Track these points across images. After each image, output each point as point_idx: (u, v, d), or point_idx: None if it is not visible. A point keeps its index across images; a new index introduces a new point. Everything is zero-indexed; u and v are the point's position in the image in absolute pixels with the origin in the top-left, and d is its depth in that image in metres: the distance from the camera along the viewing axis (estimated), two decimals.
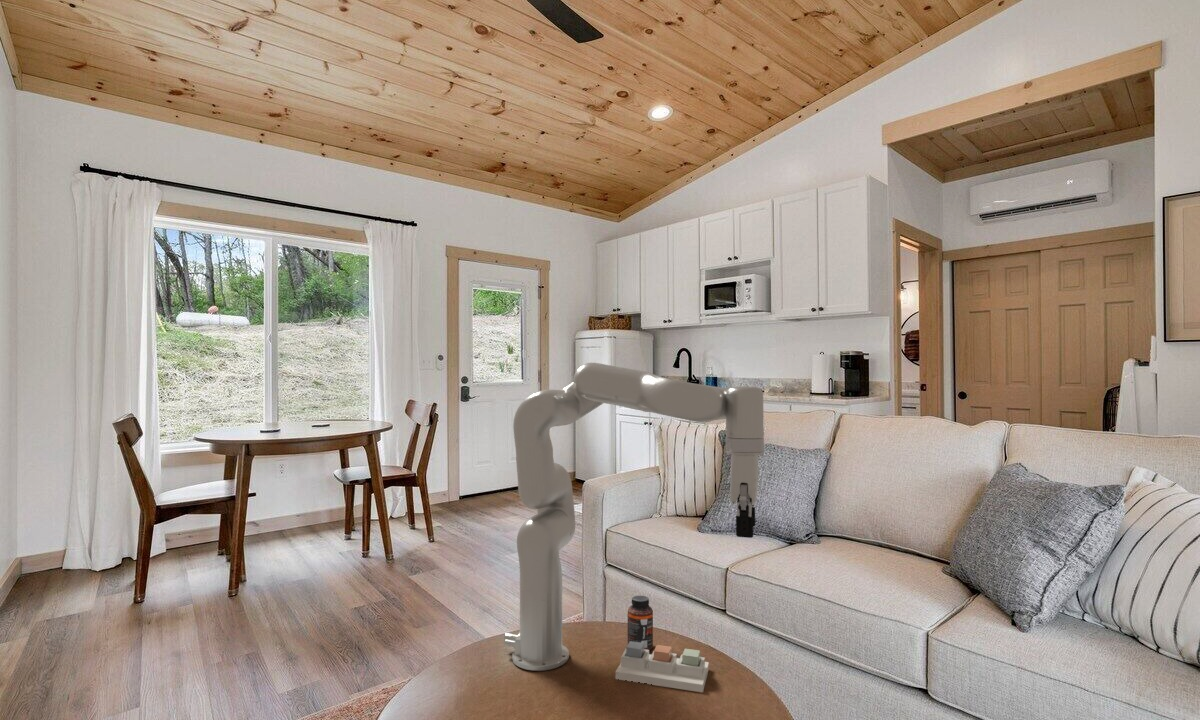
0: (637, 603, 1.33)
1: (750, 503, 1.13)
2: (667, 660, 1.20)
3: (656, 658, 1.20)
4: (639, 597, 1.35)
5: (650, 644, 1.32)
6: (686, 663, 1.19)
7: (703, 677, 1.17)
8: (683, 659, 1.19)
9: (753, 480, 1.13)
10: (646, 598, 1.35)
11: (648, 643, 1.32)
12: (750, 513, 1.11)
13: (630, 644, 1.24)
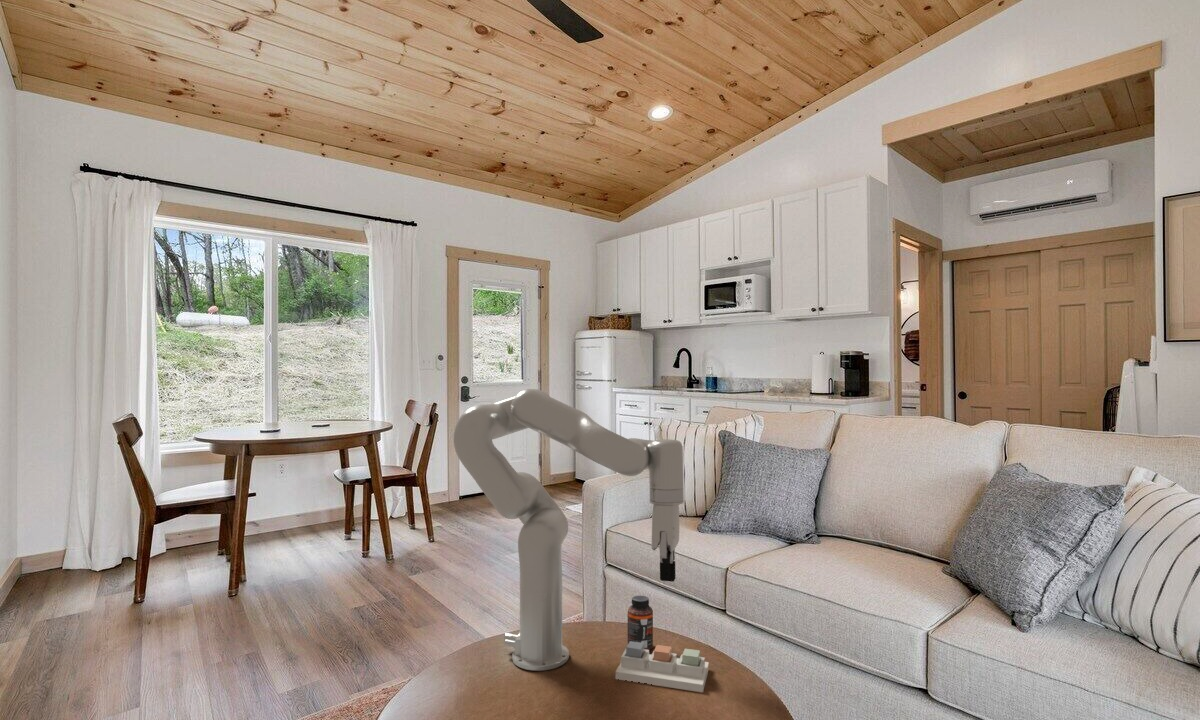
0: (637, 603, 1.33)
1: (671, 552, 1.25)
2: (667, 660, 1.20)
3: (656, 658, 1.20)
4: (639, 597, 1.35)
5: (650, 644, 1.32)
6: (686, 663, 1.19)
7: (703, 677, 1.17)
8: (683, 659, 1.19)
9: (671, 529, 1.23)
10: (646, 598, 1.35)
11: (648, 643, 1.32)
12: (671, 562, 1.25)
13: (630, 644, 1.24)
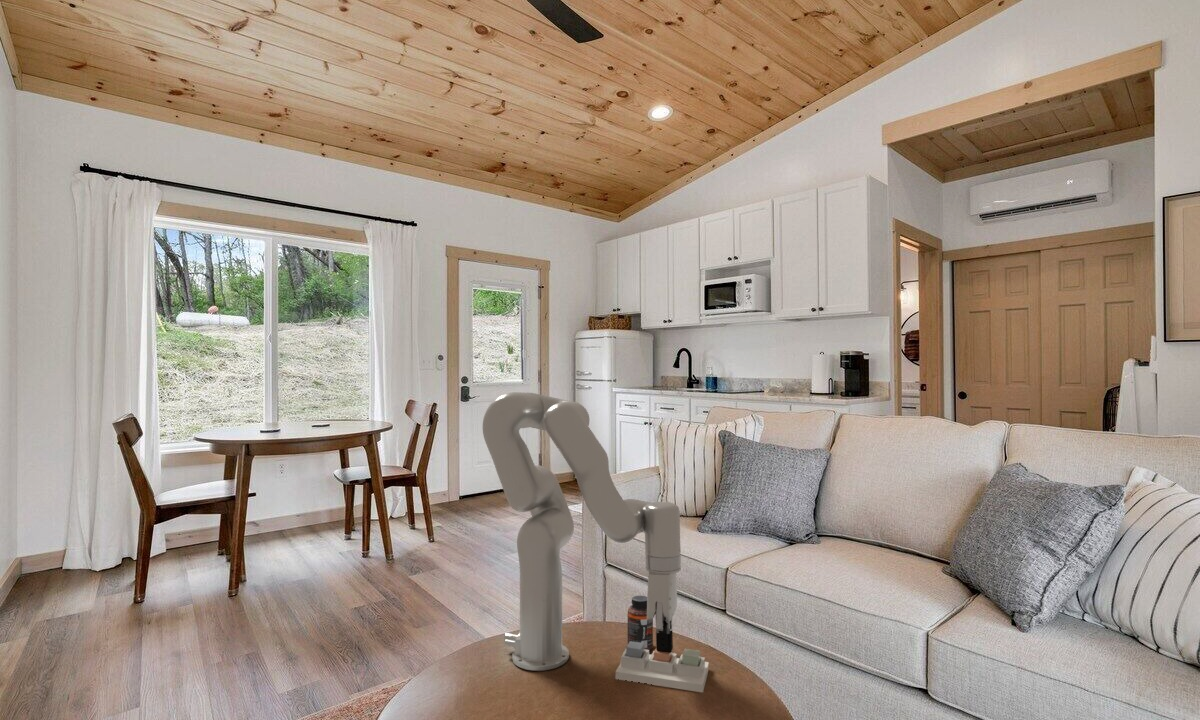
0: (637, 603, 1.33)
1: (667, 623, 1.20)
2: (667, 661, 1.20)
3: (656, 660, 1.20)
4: (639, 597, 1.35)
5: (650, 644, 1.32)
6: (686, 663, 1.19)
7: (703, 677, 1.17)
8: (683, 659, 1.19)
9: (667, 599, 1.17)
10: (646, 598, 1.35)
11: (648, 643, 1.32)
12: (668, 633, 1.20)
13: (630, 644, 1.24)
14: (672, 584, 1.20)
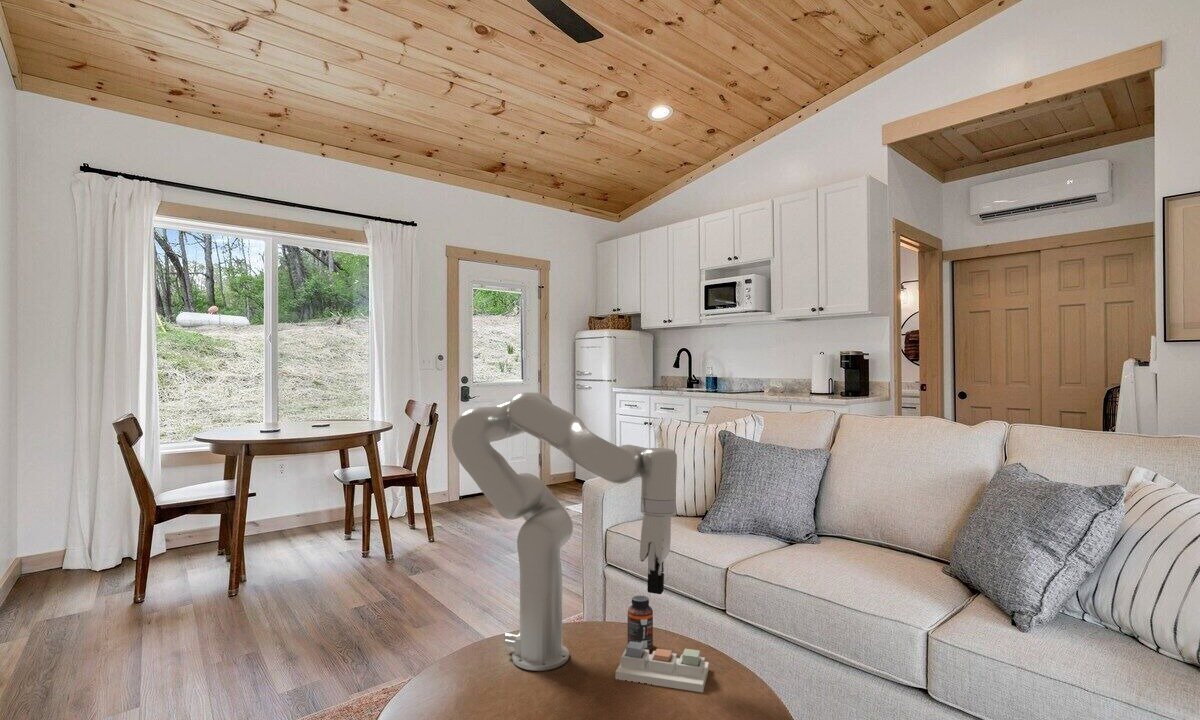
0: (637, 603, 1.33)
1: (659, 564, 1.22)
2: None
3: None
4: (639, 597, 1.35)
5: (650, 644, 1.32)
6: (686, 663, 1.19)
7: (703, 677, 1.17)
8: (683, 659, 1.19)
9: (660, 540, 1.19)
10: (646, 598, 1.35)
11: (648, 643, 1.32)
12: (659, 574, 1.22)
13: (630, 644, 1.24)
14: (666, 527, 1.21)
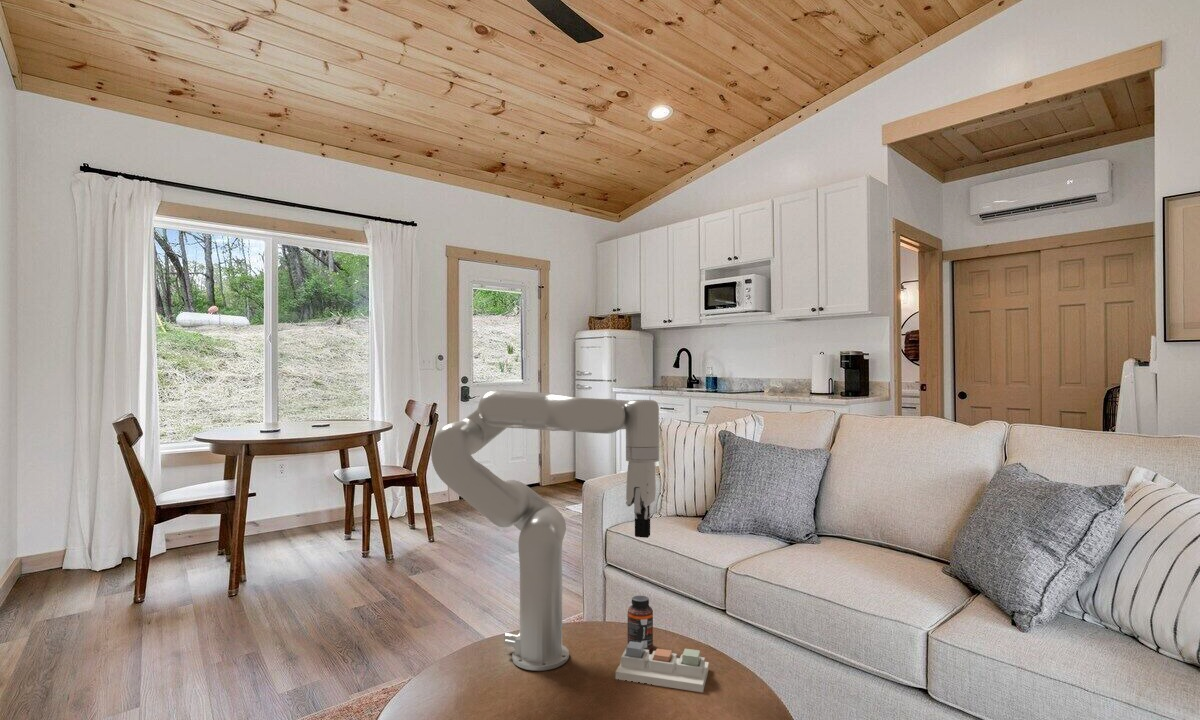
0: (637, 603, 1.33)
1: (645, 509, 1.27)
2: None
3: None
4: (639, 597, 1.35)
5: (650, 644, 1.32)
6: (686, 663, 1.19)
7: (703, 677, 1.17)
8: (683, 659, 1.19)
9: (645, 485, 1.25)
10: (646, 598, 1.35)
11: (648, 643, 1.32)
12: (646, 518, 1.28)
13: (630, 644, 1.24)
14: (650, 472, 1.27)
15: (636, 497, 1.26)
